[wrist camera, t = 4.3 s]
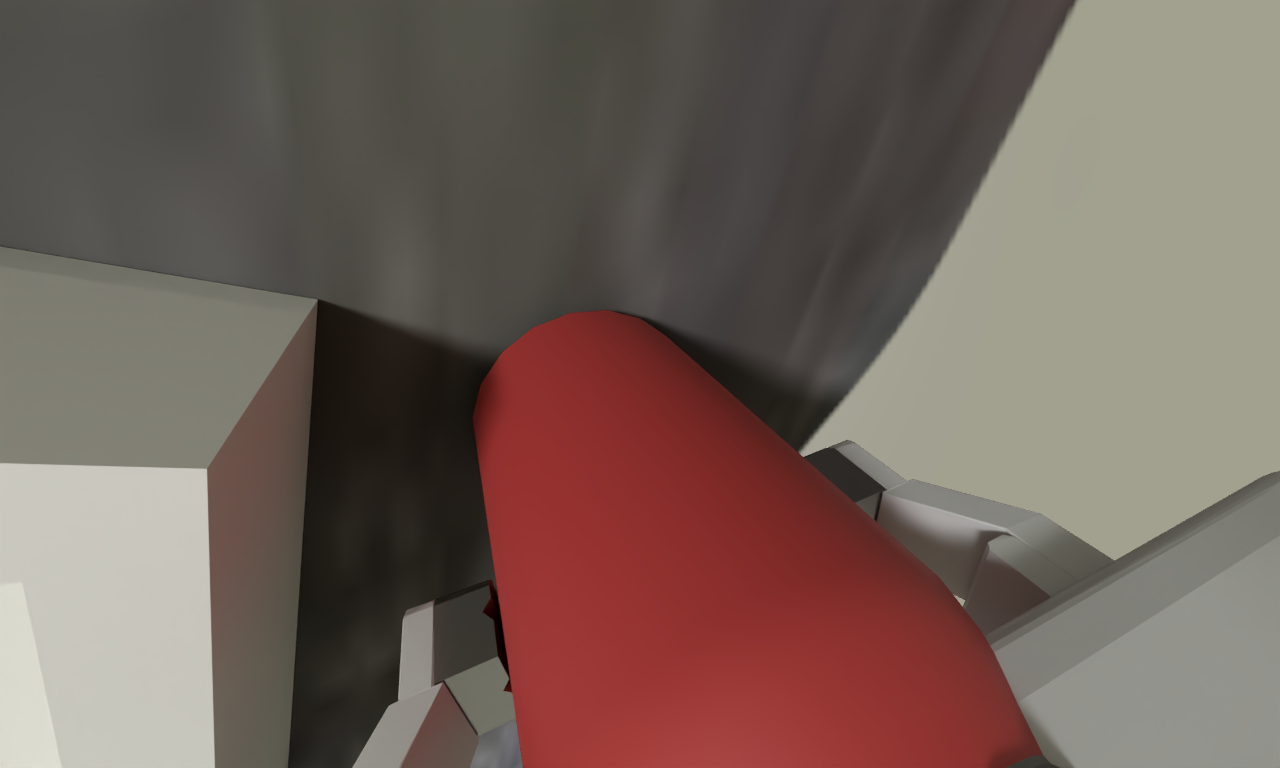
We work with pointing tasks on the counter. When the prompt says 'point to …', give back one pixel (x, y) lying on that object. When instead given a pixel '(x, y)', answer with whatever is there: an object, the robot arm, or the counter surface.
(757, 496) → the beer can
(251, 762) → the tray
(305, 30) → the counter surface
